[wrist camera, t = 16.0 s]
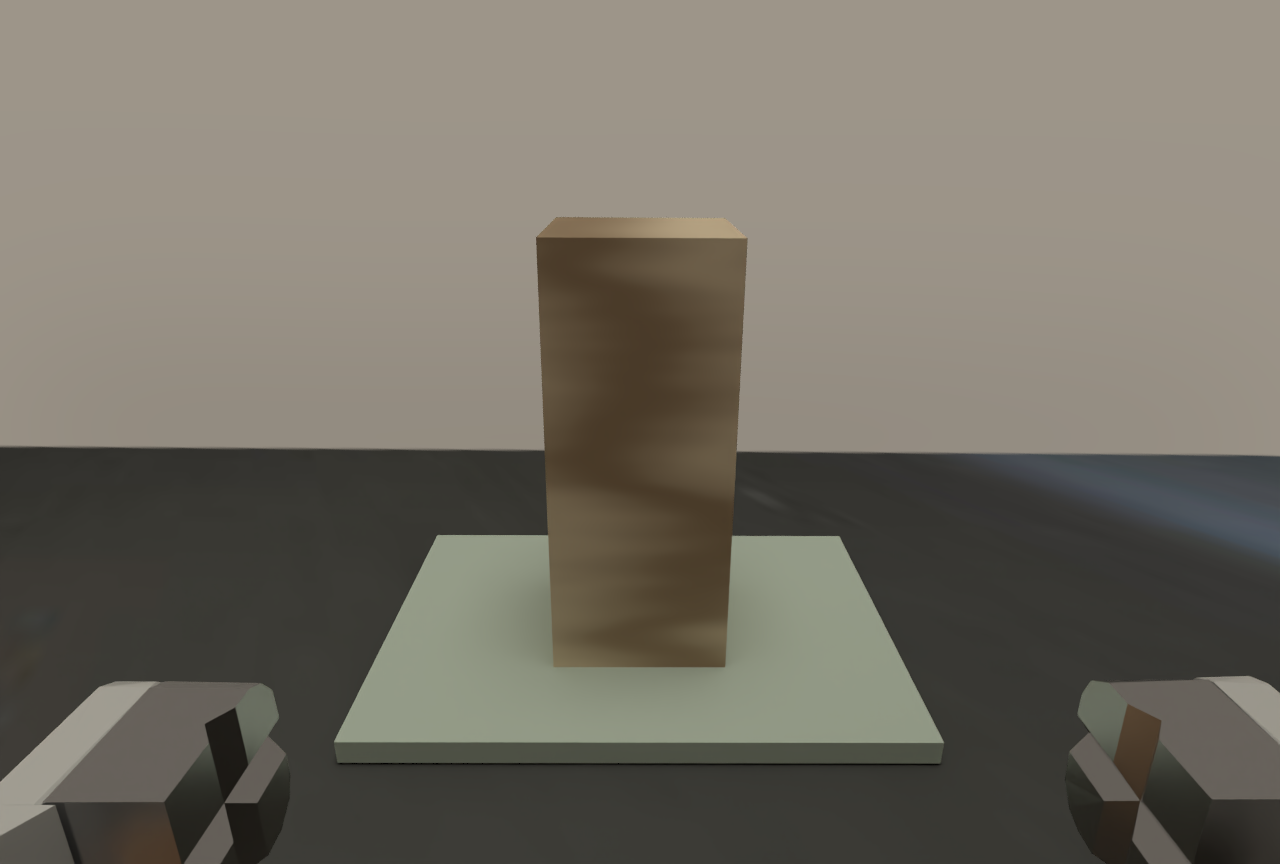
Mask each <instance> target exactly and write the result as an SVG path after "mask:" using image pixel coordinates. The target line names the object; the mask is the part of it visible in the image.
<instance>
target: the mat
mask: <svg viewBox="0 0 1280 864" xmlns="http://www.w3.org/2000/svg"><path fill="white" fill-rule="evenodd" d="M334 745H335V752H336V758H337V763H941V757H942V752H943V746H944V742H943V740H942V738H941V736H940V734H939V732H938V730H937V728H936V726H935V724H934V722H933V720H932V718H931V716H930V714H929V712H928V710H927V708H926V706H925V704H924V702H923V700H922V699H921V697H920V695H919V693H918V691H917V689H916V687H915V685H914V683H913V681H912V679H911V677H910V675H909V673H908V671H907V669H906V667H905V665H904V663H903V661H902V659H901V657H900V655H899V653H898V651H897V649H896V647H895V645H894V643H893V641H892V639H891V638H890V636H889V634H888V632H887V630H886V628H885V626H884V624H883V622H882V620H881V618H880V616H879V614H878V612H877V610H876V608H875V606H874V604H873V602H872V600H871V598H870V596H869V594H868V592H867V590H866V588H865V586H864V584H863V582H862V580H861V578H860V577H859V575H858V573H857V571H856V569H855V567H854V565H853V563H852V561H851V559H850V557H849V555H848V553H847V551H846V549H845V547H844V545H843V543H842V541H841V539H840V537H839V536H732V546H731V565H730V584H729V604H728V623H727V642H726V661H725V667H554V666H553V642H552V617H551V592H550V567H549V542H548V536H539V535H438V536H437V537H436V539H435V541H434V543H433V545H432V547H431V549H430V551H429V553H428V555H427V557H426V559H425V561H424V563H423V565H422V567H421V569H420V571H419V573H418V575H417V577H416V579H415V581H414V583H413V585H412V587H411V589H410V591H409V593H408V595H407V597H406V599H405V601H404V603H403V605H402V607H401V609H400V611H399V613H398V615H397V617H396V619H395V621H394V623H393V625H392V627H391V629H390V631H389V633H388V635H387V637H386V639H385V641H384V643H383V645H382V647H381V649H380V651H379V653H378V655H377V657H376V659H375V661H374V663H373V665H372V667H371V669H370V671H369V673H368V675H367V677H366V679H365V681H364V683H363V685H362V687H361V689H360V691H359V693H358V695H357V697H356V699H355V701H354V703H353V705H352V707H351V709H350V711H349V713H348V715H347V717H346V719H345V721H344V723H343V725H342V727H341V729H340V731H339V733H338V735H337V737H336V739H335V741H334Z"/></svg>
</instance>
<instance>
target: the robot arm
mask: <svg viewBox="0 0 1280 864" xmlns="http://www.w3.org/2000/svg"><path fill="white" fill-rule="evenodd" d="M1077 715H1078V717H1079V718H1080V720H1081V721H1082V723H1083V724H1084V726H1085V727H1086V729H1087V730H1088V732H1089V733H1088V734H1087V735H1086V736H1085V737H1084V738H1083V739H1082V740H1081V741H1080V742H1079V743H1078V744H1077V745H1076V746H1075V747H1074V748H1073V749H1072V750H1070V751H1069V758H1068V764H1067V770H1066V776H1065V783H1066V790H1067V796H1068V803H1069V809H1070V812H1071V814H1072V817H1073V819H1074V822H1075V824H1076V827H1077V829H1078V832H1079V833H1080V835H1081V837H1082V838H1083V840H1084V841H1085V843H1086V845H1087V846H1088V848H1089V850H1090V851H1091V853H1092V854H1093V855H1095V856H1096V857H1097V858H1099V859H1100V860H1102V861H1103V862H1105V863H1106V864H1280V693H1279V692H1278V691H1276V690H1275V689H1274V688H1273V687H1272V686H1270V685H1269V684H1268V683H1265V682H1263V681H1260V680H1258V679H1255V678H1253V677H1250V676H1234V677H1203V678H1195V679H1194V680H1091V682H1090V683H1089V685H1088V686H1087V687H1086V689H1085V690H1084V692H1083V693H1082V696H1081V701H1080V705H1079V709H1078V714H1077ZM278 719H279V715H278V711H277V707H276V703H275V699H274V695H273V691H272V690H271V689H269V688H268V687H266V686H265V685H263V684H262V683H224V682H169V681H166V682H163V683H161V682H113V683H110V684H107V685H104V686H101V687H99V688H98V689H97V690H96V691H95V692H94V693H92V694H91V695H90V696H89V697H88V698H87V699H86V700H85V701H84V702H83V703H82V704H81V705H80V706H79V707H78V708H77V709H76V710H75V711H74V712H73V713H72V714H71V715H70V716H69V717H67V718H66V719H65V720H64V721H63V722H62V723H61V724H60V725H59V726H58V727H57V728H56V729H55V730H54V731H53V732H52V733H51V734H50V735H49V736H48V737H47V738H46V739H45V740H44V741H43V742H41V743H40V744H39V745H38V746H37V747H36V748H35V749H34V750H33V751H32V752H31V753H30V754H29V755H28V756H27V757H26V758H25V759H24V760H23V761H22V762H21V763H20V764H19V765H18V766H17V767H15V768H14V769H13V770H12V771H11V772H10V773H9V774H8V775H7V776H6V777H5V778H4V779H3V780H2V781H1V782H0V864H257V863H259V862H260V861H261V860H263V859H264V858H265V857H267V856H268V855H269V853H270V851H271V849H272V847H273V845H274V843H275V841H276V839H277V837H278V835H279V833H280V832H281V830H282V826H283V822H284V818H285V814H286V810H287V806H288V803H289V799H290V771H289V766H288V760H287V755H286V753H285V752H284V751H283V750H282V749H281V748H280V747H279V746H278V745H277V744H276V743H275V742H273V741H272V740H271V739H270V738H269V737H268V734H269V733H270V731H271V729H272V728H273V726H274V725H275V723H276V722H277V720H278Z"/></svg>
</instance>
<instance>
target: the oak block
mask: <svg viewBox="0 0 1280 864" xmlns="http://www.w3.org/2000/svg"><path fill="white" fill-rule="evenodd" d="M536 245H537V268H538V292H539V318H540V344H541V367H542V391H543V393H542V394H543V417H544V443H545V468H546V493H547V518H548V542H549V567H550V592H551V617H552V642H553V666H554V667H725V661H726V642H727V623H728V604H729V584H730V565H731V546H732V527H733V507H734V488H735V469H736V450H737V429H738V410H739V391H740V373H741V353H742V352H741V351H742V334H743V315H744V295H745V276H746V257H747V238H746V237H745V236H744V235H743V234H742V233H741V232H740V231H739V230H738V229H737V228H735V227H734V226H733V225H732V224H731V223H730V222H729V221H728V220H727V219H725V218H588V217H587V218H583V217H577V218H576V217H573V218H572V217H556V218H555V219H554V220H553V221H552V222H551V223H550V224H549V225H548V226H547V227H546V228H545V229H544V230H543V231H542V232H541V233H540V234H539V235H538V236H537V237H536Z"/></svg>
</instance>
